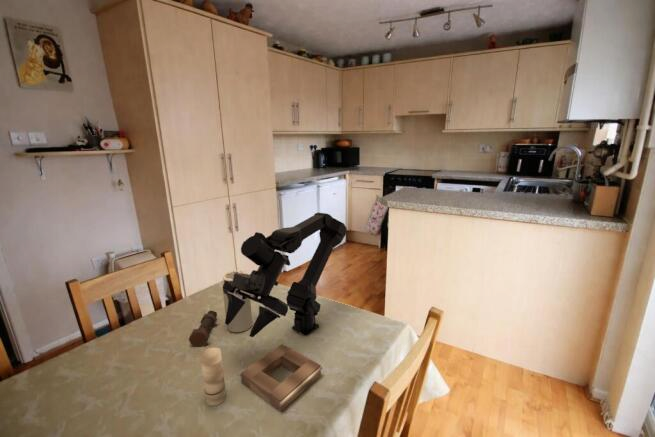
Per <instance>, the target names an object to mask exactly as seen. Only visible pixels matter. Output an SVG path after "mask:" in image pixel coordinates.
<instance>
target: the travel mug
mask: <svg viewBox="0 0 655 437" xmlns="http://www.w3.org/2000/svg"><path fill="white" fill-rule="evenodd" d="M234 273H240V274H248V273H247V271H245V270H239V269H238V270H232V271H229V272H226V273H224V274H223V275H222V280H223V284H222V293H223V301H224V312H225V315H226V314H227V309H228V297H227V295H226V294H225V292H227V291H226V290H224V289H223V288H224V287H225V285H226V283H227V282H229V281H233V277H234ZM241 300H243V301H245V302H246V303H245V304H244V305H243V307H242V308H241V309H240V311H239V312H238V313H237V315H236V316H235V317H234V319H233V320H232V321H231V322H230V324H229V325H227V324H226V329H227V330H228V331H229V332H231V333H241V332H245V331H247V330H249V329H250V328H252V327H253V318H252V317H253V316H252V302H251V299H248V298H246V299H241Z"/></svg>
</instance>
